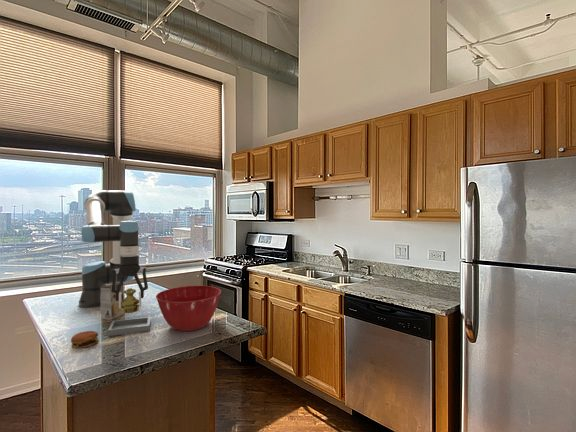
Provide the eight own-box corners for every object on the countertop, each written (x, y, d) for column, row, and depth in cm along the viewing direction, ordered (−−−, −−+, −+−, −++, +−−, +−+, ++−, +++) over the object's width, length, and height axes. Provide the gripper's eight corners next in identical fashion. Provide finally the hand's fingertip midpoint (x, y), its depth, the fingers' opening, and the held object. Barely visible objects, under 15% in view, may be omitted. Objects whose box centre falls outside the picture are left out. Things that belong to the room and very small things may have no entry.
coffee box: (113, 313, 173) (113, 282, 172) (124, 314, 171) (124, 282, 171) (100, 319, 164) (99, 286, 163) (111, 319, 162) (111, 286, 162)
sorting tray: (112, 326, 154) (112, 320, 154) (150, 321, 159) (150, 316, 159) (108, 336, 142) (108, 330, 141) (149, 331, 147) (149, 325, 147)
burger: (70, 343, 135) (70, 331, 134) (97, 338, 140) (97, 327, 140) (71, 351, 126) (71, 339, 126) (99, 346, 132) (99, 334, 132)
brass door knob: (135, 313, 147) (135, 290, 147) (118, 313, 146) (117, 290, 146) (141, 308, 154) (141, 286, 154) (125, 308, 153) (124, 286, 153)
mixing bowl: (203, 340, 136) (202, 302, 136) (142, 334, 143) (141, 298, 143) (230, 318, 164) (230, 287, 164) (178, 314, 170) (178, 284, 170)
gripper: (102, 257, 143) (103, 311, 143) (153, 255, 150) (154, 306, 150) (105, 255, 150) (106, 306, 150) (154, 253, 157) (154, 302, 157)
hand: (130, 306), depth 150 cm, fingers closed on brass door knob, 7 cm apart
